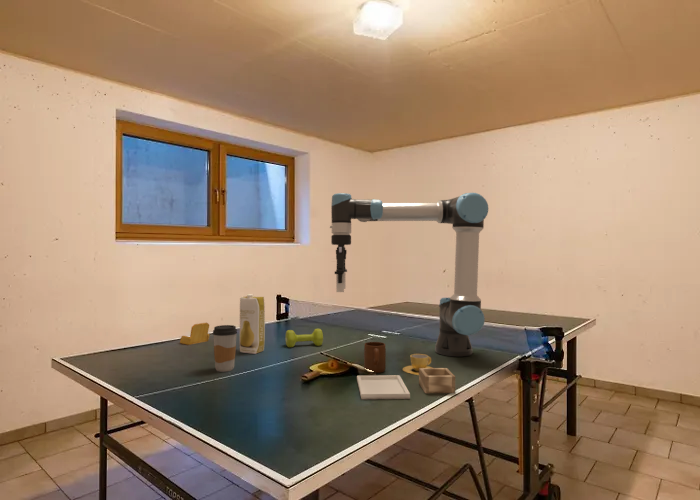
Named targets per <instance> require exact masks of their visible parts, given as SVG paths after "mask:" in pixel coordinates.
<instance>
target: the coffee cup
mask: <svg viewBox="0 0 700 500" xmlns="http://www.w3.org/2000/svg"><path fill="white" fill-rule="evenodd" d="M213 328H214V329H213V331H212V335H213V352H214V353H213V354H214V367H215V370H216V372H220V373H221V372H224V373H225V372H230V371H233V370H234V368H235V359H236V352H237V351H236V349H237V348H236V347H237V346H236V345H237V335H238V330H237V327H236V325H232V324H230V325H229V324H224V325H222V324H221V325H217V326H214V327H213Z"/></svg>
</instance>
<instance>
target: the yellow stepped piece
mask: <svg viewBox="0 0 700 500" xmlns="http://www.w3.org/2000/svg"><path fill="white" fill-rule="evenodd" d="M209 330H210V324H209V323H208V322H201V323H195V324H193V325H192V326H191V330H190V335H189V336H187V335H181V337H180V341H179V344H182V345H187V346H191V345H194V344H195V345H196V344H200V343H201V344H202V343H205V342H209V339H210V337H211V336H210V335H211V334H209Z"/></svg>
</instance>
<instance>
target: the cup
mask: <svg viewBox="0 0 700 500" xmlns="http://www.w3.org/2000/svg"><path fill="white" fill-rule="evenodd" d="M409 357H410V363H411V365H406V366H404V367H403V368H402V371H403V372H404V373H407V374H411V375H417V376H419V368H433V367H432V366H429V365H430V364H431V363H432V357H431V356H429V355H428V354H424V353H413V354H410V356H409ZM412 370H414V371H412Z"/></svg>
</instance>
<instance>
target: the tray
mask: <svg viewBox="0 0 700 500" xmlns="http://www.w3.org/2000/svg"><path fill="white" fill-rule="evenodd" d="M356 382H357V387H358V390H359V396H360V400H410V399H411V393H410V391H409V390H408V388H407V386H406V384H405V383H404V380H403V379H402V377H401V375H400V374H399V375H398V374H397V375H396V374H395V375H394V374H393V375H392V374H391V375H390V374H388V375H387V374H386V375H378V374H377V375H376V374H375V375H374V374H373V375H357V376H356Z"/></svg>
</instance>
